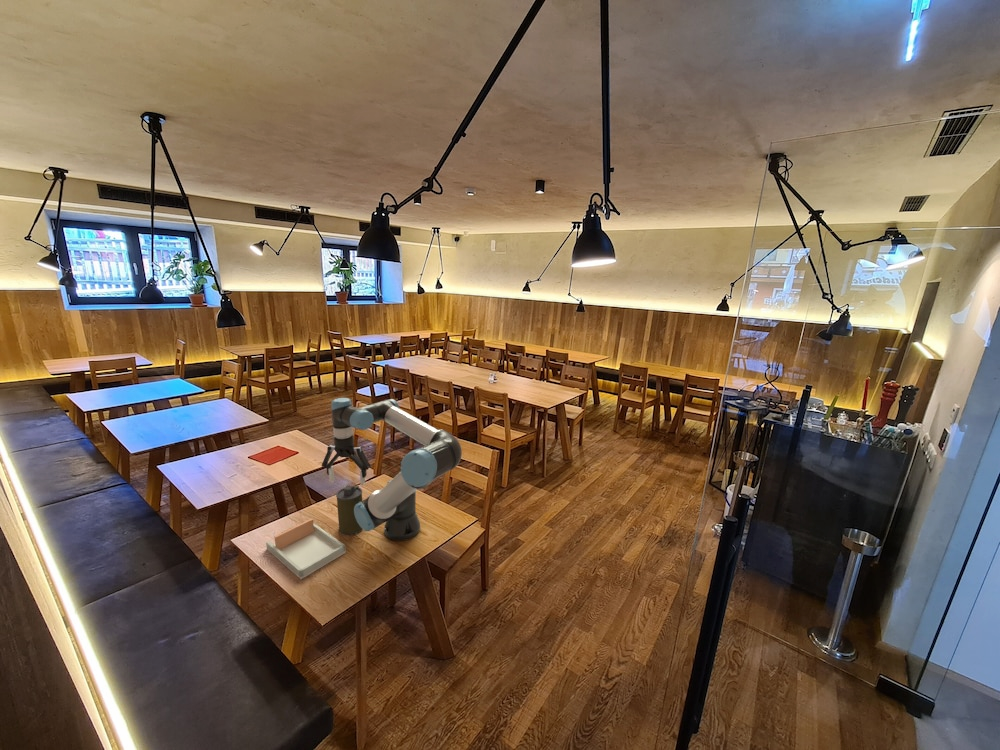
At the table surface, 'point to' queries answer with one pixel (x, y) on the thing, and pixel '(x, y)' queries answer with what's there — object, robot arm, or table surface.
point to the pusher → (294, 534)
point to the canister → (348, 509)
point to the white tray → (308, 552)
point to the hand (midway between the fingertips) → (347, 482)
